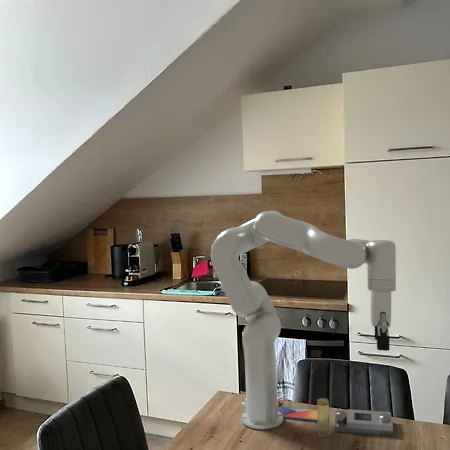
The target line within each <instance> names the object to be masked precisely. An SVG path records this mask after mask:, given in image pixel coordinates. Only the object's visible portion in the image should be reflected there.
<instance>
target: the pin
mask: <svg viewBox="0 0 450 450" xmlns="http://www.w3.org/2000/svg"><path fill="white" fill-rule="evenodd" d="M316 404H317V405H316V408H317V409H316V410H317V414H318V422H317V436H318V437H320V438H328V437H330V402H329V399H328V398H325V397H324V398H321V397H319V398H318V399H317V400H316Z"/></svg>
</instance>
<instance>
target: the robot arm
mask: <svg viewBox="0 0 450 450" xmlns="http://www.w3.org/2000/svg"><path fill="white" fill-rule="evenodd" d="M268 242H271V243H273V244H277V245H280V246H283V247H286V248H289V249H292V250H296V251H298V252H301V253H303V254H306V255H308V256H311V257H313V258H316V259H318V260H320V261H322V262H325V263H329V264H331V265H335V266H338V267H340V268H345V269H349V270H353V269H354V270H355V269H358V268H361V267H362V266H363V265H364V264H367V290H368V291H371V292H370V293H371V294H370V322H371V326H372V327H374V339H375V340H376V350H378V351H390V335H389V334H390V331H389V328H391V326H392V325H391V324H392V323H391V322H392V292H395V291H396V290H397V289H396V288H397V281H396V280H397V278H396V276H397V274H396V273H397V271H396V270H397V267H396V266H397V264H396V263H397V262H396V261H397V257H396V256H397V255H396V252H397V251H396V250H397V248H396V243H395V242H394V241H393V240H388V239H375V240H368V239H367V240H366V239H359V238H349V239H345V238H341V237H339V236H338V237H337V236H334V235H332V234H329V233H326V232H325V231H322V230H320V229H318V228H317V227H316V226H315V225H314V224H311V223H309V222H306V221H303V220H299V219H295V218H292V217H290V216H286V215H283V214H282V213H281V212H280V211H277V210H266V211H262V212H260V213H259V214H258V215H256V217H255V218H254V219H252V220H250V221H247V222H246V223H244V224H241V225H239V226H236V227H231V228H228V229H225V230H223V231H222V232H221V233H220V234H218V235H217V237H216V238H215V240H214V241H213V243H212V244H211V250H210V260H211V261H210V262H211V265H212V267H213V270H214V272H215V273H216V275H217V278H218V281H219V282H220V285H221V287H222V290H223V292H224V294H225V296H226V298H227V300H228V302H229V305H230V306H231V309H232V311H233V312H234V314H236V316H238V317H241V318H247V319H248V321H249V322H247V324H246V325H245V326H244V328H243V331H242V335H241V336H242V337H241V338H242V339H241V340H242V341H241V342H242V348H243V355H244V357H243V358H244V373H245V399H244V401H242V402H241V404H240V405H241V406H242V407H243V408H244V409H245V411H244V413H243V414H242V415H241V421H242V423H243V424H244V426H246V427H248V428H251V429H254V430H270V429H274V428H278V427H280V425H282V424H283V422H284V419H283V415H282V414H281V413H280V412H278V378H277V377H278V376H277V374H278V372H277V371H278V370H277V358H276V357H277V355H276V350H275V343H276V342H275V341H276V340H277V338H278V337H279V336H280V333H281V329H282V323H281V320H280V317H279V315H278V312H277V311H276V309H275V306H274V305H273V303H272V301H271V298H270V296H269V295H268V292H267V291H266V288H265V287H264V286H263V285H262V284H260V283H259V282H256V281H253V280H251V279H250V278H249V276H248V272H246V268H245V267H244V266H243V264H242V262H241V261H240V259H239V257H240V256H241V255H243V254H245V253H247V252H249V251H252V250H253V249H256V248H258V247H259V246H261V245H263V244H265V243H268Z"/></svg>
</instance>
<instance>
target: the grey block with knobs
mask: <svg viewBox="0 0 450 450" xmlns="http://www.w3.org/2000/svg"><path fill="white" fill-rule="evenodd" d="M334 432H337V433H348V434H359V435H371V436H382V437H383V436H384V437H394V425H393V418H392V414H391V412H390V411H381V410H379V411H377V410H362V409H352V408H351V409H349V408H348V409H346V410H342V409H340V410H336V411H335V416H334Z"/></svg>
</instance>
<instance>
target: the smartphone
mask: <svg viewBox="0 0 450 450" xmlns="http://www.w3.org/2000/svg"><path fill="white" fill-rule="evenodd" d="M278 412H280V413H281V414H282V415H283V420H284V419H285V420H293V421H303V422H312V423H318V414H317V409H314V408H301V407H292V406H278Z"/></svg>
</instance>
